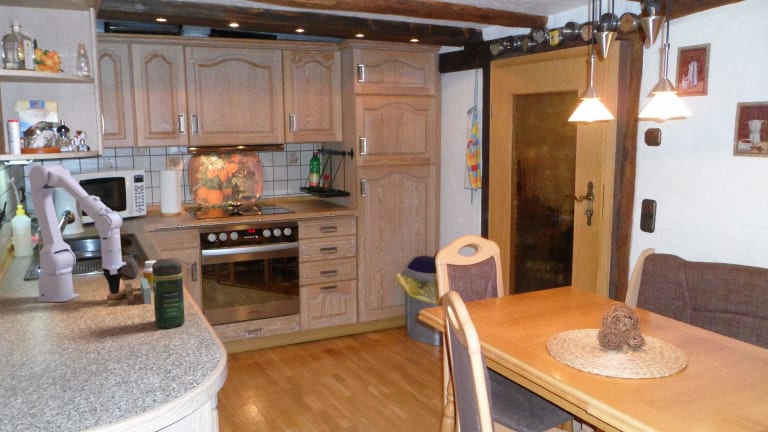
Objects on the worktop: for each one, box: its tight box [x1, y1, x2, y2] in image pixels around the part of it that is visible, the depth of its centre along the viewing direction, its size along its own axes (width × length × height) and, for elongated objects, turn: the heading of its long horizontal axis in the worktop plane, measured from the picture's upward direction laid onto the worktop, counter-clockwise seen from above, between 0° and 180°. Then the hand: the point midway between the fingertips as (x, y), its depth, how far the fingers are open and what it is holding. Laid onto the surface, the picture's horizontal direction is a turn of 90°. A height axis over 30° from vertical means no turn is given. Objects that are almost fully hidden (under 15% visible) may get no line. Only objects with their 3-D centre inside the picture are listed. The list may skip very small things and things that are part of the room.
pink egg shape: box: [108, 277, 124, 300], centre depth 195 cm, size 4×4×6 cm
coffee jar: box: [152, 258, 186, 329], centre depth 173 cm, size 10×8×19 cm
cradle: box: [106, 282, 135, 308], centre depth 196 cm, size 8×10×4 cm
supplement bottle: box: [142, 260, 157, 292], centre depth 211 cm, size 5×5×10 cm
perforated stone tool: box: [121, 254, 139, 279], centre depth 230 cm, size 15×5×7 cm, turn 35°
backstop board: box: [139, 278, 152, 305], centre depth 200 cm, size 2×14×5 cm, turn 26°
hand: (114, 291), depth 195 cm, fingers closed on pink egg shape, 4 cm apart
